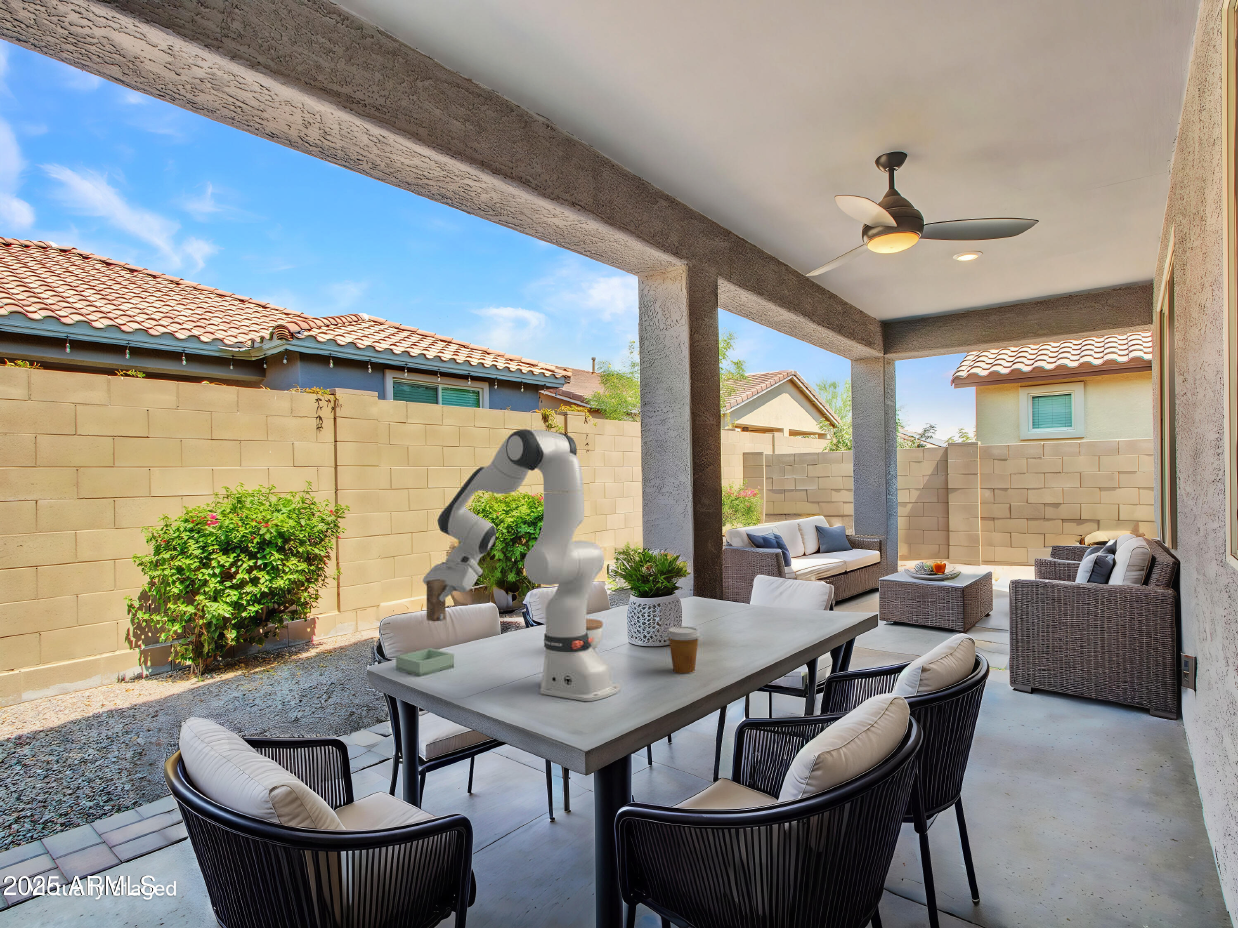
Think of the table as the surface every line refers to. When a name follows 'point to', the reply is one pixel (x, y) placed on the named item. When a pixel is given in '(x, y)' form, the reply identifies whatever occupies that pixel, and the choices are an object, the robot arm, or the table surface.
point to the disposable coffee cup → (683, 648)
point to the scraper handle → (435, 601)
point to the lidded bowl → (594, 631)
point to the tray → (424, 662)
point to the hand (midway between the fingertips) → (434, 599)
